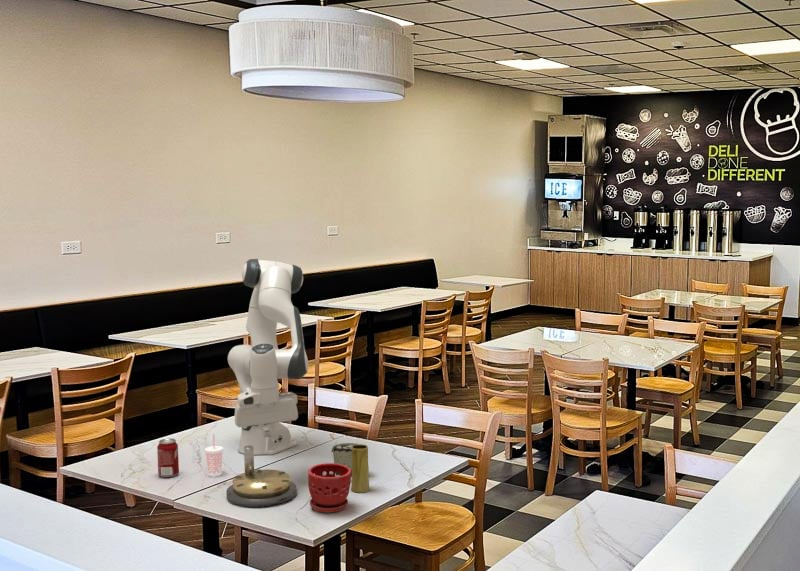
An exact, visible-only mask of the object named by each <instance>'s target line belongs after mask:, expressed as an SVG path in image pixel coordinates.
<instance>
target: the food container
mask: <svg viewBox="0 0 800 571" xmlns="http://www.w3.org/2000/svg"><path fill="white" fill-rule="evenodd" d="M357 444H358V443H356V442H355V443H354V442H345V443H344V442H343V443H339V444H335V445H332V447H331V452H330V453H332V454H333V455H332V457H333V463H335V464H341V465H345V466H347V467H349V468H350V469H351V478H352V446H353V445H357ZM337 475H339V476H341V474H340V472H338V471H337V472H336V473H335V476H337Z"/></svg>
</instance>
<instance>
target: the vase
mask: <svg viewBox="0 0 800 571" xmlns="http://www.w3.org/2000/svg"><path fill="white" fill-rule="evenodd" d="M356 444H357V445H353V446H352V477H351V484H350V490H351V492H352V493H353V492H354V493H359V494H361V493H362V492H364V493H366V491H367V492H369V491H370V489H371V487H370V473H369V472H370V471H369V468H370V466H369V446H368V445H366V444H361V443H356ZM368 490H369V491H368ZM362 494H363V493H362Z"/></svg>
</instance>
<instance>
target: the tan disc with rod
mask: <svg viewBox="0 0 800 571" xmlns="http://www.w3.org/2000/svg"><path fill="white" fill-rule="evenodd" d="M243 458H244V459H243V461H244V462H243V463H244V472H242V473H240V474H237V475H235V476H234V477H233V479H232V485H233V492H234V493H235V494H236V495H238V496H241V497H246V498H268V497H274V496H278V495H281V494H283V493H285V492H287V491H288V490H289V489H290V481H291V476H290V474H289V473H287V472H286V471H284V470H277V469H255V455H254V447H253V446H245V447H244V456H243Z"/></svg>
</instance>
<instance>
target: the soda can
mask: <svg viewBox="0 0 800 571" xmlns="http://www.w3.org/2000/svg"><path fill="white" fill-rule="evenodd" d="M156 450H157V475H158V476H160V477H162V478H164V479H165V478H172V477H176V475H177V476H178V475H179V474H180V469H179V467H180V466H179V444H178V443H177V440H176V439H175V438H163V439H160V440H158V444H157V447H156Z"/></svg>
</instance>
